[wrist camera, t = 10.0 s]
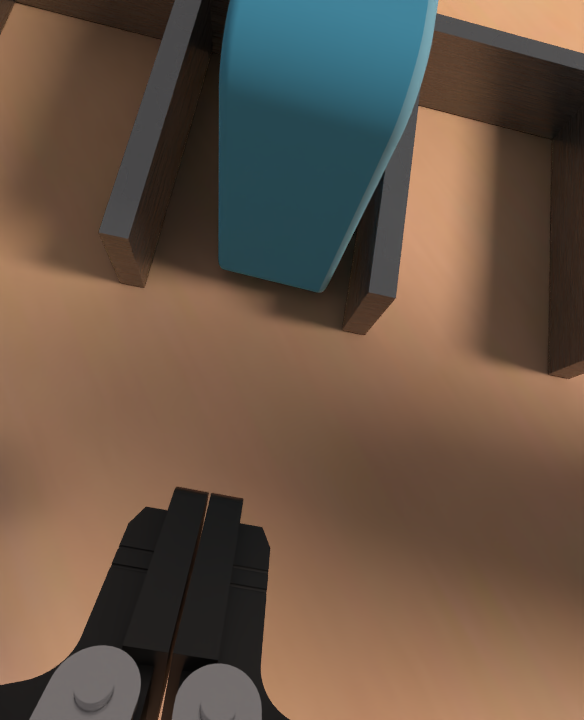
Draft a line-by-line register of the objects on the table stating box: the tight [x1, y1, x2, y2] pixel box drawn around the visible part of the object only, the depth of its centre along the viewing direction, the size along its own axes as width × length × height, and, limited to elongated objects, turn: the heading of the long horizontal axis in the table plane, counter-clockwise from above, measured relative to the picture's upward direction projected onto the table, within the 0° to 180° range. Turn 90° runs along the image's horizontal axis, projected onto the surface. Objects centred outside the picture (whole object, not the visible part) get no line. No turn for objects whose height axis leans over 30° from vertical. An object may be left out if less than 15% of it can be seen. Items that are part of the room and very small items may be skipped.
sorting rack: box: [0, 0, 584, 379], centre depth 19 cm, size 30×14×9 cm, turn 80°
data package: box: [218, 0, 438, 293], centre depth 18 cm, size 12×4×12 cm, turn 169°
